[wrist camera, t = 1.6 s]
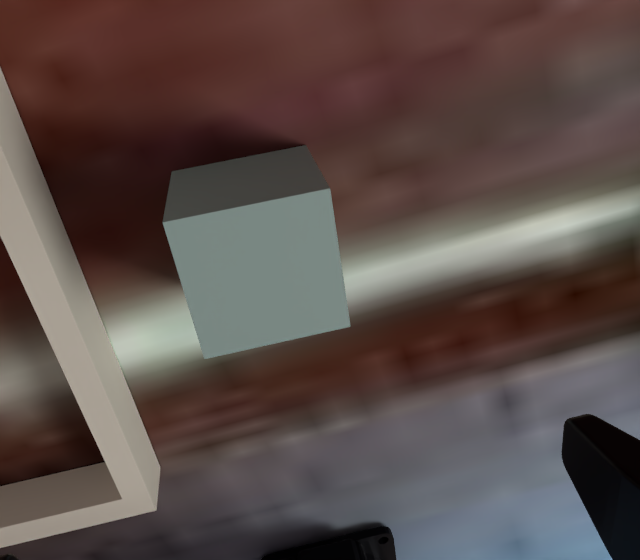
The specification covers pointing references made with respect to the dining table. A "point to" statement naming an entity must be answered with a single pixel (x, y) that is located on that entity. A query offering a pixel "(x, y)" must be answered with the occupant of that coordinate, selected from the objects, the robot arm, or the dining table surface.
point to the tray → (67, 362)
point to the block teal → (256, 250)
